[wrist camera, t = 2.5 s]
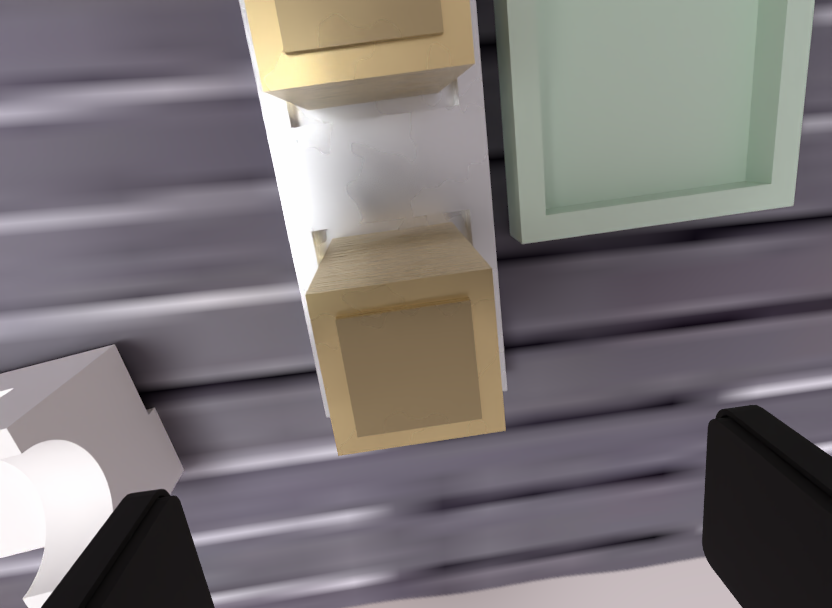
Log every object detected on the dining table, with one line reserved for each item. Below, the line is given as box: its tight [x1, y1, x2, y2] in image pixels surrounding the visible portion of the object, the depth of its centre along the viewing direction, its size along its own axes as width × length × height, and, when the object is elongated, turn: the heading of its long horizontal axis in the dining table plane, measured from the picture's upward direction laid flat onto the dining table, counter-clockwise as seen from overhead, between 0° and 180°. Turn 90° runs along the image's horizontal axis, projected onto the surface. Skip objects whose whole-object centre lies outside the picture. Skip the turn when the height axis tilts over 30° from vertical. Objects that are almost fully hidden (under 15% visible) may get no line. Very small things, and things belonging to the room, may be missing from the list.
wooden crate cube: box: [305, 222, 506, 456], centre depth 18 cm, size 5×5×8 cm
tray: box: [493, 0, 815, 244], centre depth 19 cm, size 11×11×2 cm
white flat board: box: [239, 0, 507, 417], centre depth 20 cm, size 20×8×2 cm, turn 7°
